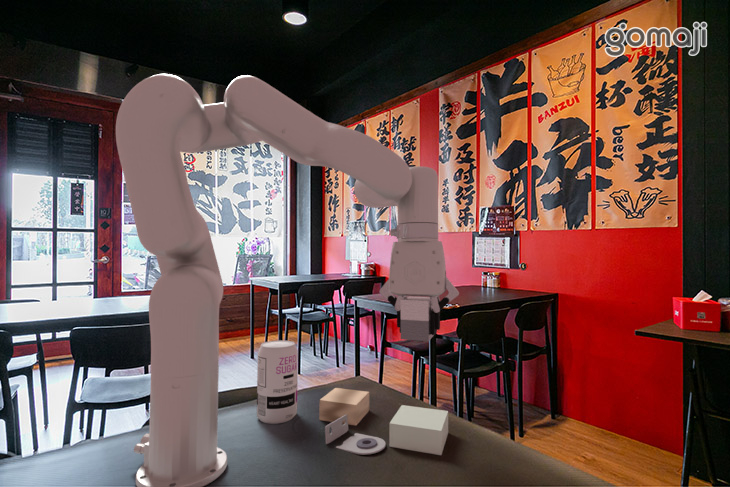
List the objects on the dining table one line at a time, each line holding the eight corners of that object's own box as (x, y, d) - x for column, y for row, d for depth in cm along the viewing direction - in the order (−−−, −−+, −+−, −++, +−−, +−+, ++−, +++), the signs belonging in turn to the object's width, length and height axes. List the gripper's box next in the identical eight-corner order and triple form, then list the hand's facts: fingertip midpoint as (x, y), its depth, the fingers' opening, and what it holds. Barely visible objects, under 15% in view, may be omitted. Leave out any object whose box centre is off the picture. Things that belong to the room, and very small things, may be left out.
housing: (409, 332, 75) (409, 296, 75) (434, 334, 73) (434, 297, 74) (400, 339, 68) (400, 299, 69) (428, 341, 67) (428, 300, 67)
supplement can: (269, 407, 85) (270, 338, 85) (303, 411, 83) (304, 341, 83) (248, 422, 77) (249, 346, 78) (285, 427, 75) (286, 349, 75)
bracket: (372, 462, 63) (372, 440, 63) (324, 446, 68) (324, 426, 68) (392, 445, 68) (392, 426, 68) (346, 432, 74) (346, 413, 74)
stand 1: (319, 419, 78) (319, 399, 78) (335, 405, 86) (335, 387, 86) (356, 425, 76) (356, 404, 76) (369, 410, 83) (369, 391, 83)
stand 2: (389, 446, 67) (389, 423, 67) (401, 425, 76) (401, 405, 76) (441, 455, 64) (441, 430, 64) (448, 432, 73) (448, 411, 73)
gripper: (368, 234, 71) (368, 333, 70) (463, 232, 65) (464, 339, 65) (380, 236, 78) (380, 326, 77) (466, 234, 72) (467, 332, 72)
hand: (418, 331), depth 71 cm, fingers closed on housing, 5 cm apart
